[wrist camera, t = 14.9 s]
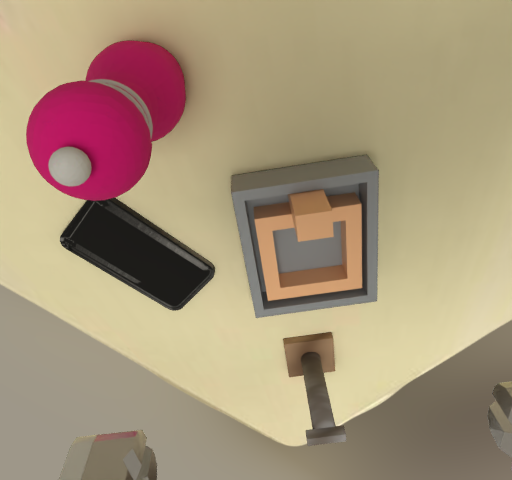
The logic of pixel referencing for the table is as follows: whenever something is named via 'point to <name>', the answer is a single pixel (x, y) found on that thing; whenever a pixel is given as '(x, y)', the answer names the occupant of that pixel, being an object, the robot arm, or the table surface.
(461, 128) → the table surface
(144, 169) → the pepper mill
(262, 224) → the ring
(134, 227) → the phone
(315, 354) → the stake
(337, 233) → the tray
